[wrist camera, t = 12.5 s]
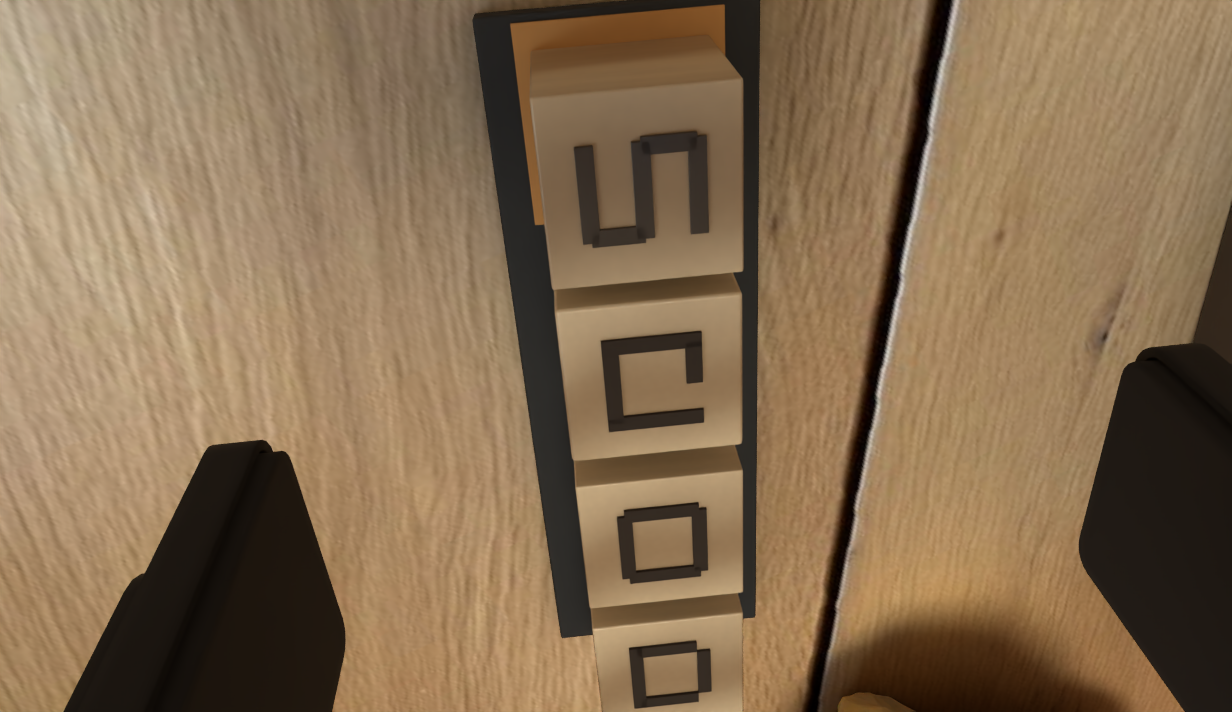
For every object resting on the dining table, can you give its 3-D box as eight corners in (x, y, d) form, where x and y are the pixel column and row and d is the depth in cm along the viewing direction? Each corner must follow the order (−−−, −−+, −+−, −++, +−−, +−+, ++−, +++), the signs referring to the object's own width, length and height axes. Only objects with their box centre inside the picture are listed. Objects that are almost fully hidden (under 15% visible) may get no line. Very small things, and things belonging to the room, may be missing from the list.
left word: (473, 13, 23) (457, 60, 18) (755, -12, 23) (807, 29, 19) (560, 626, 34) (564, 748, 29) (752, 605, 34) (784, 724, 29)
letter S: (530, 50, 23) (528, 99, 19) (708, 33, 23) (744, 79, 19) (549, 218, 25) (551, 293, 21) (712, 203, 25) (744, 274, 21)
